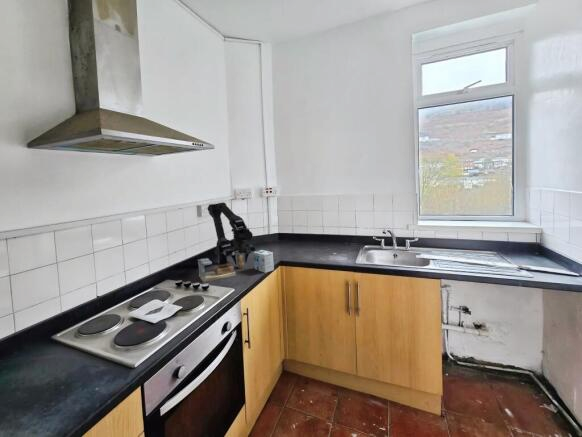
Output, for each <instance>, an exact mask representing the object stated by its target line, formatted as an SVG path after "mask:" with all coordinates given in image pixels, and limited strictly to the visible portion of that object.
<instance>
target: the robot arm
mask: <svg viewBox="0 0 582 437" xmlns="http://www.w3.org/2000/svg"><path fill="white" fill-rule="evenodd" d="M207 211H208V214H209V216H210V217H211V218H212V219H213V224H214V228H215V233H216V237H217V241H216V243H215V244H216V247H215V250H214V255H215V256H218V257H217V258H218V261H217V263H218V265H224V264H230V261H229V260H228V259H229V258H228V256H230V257H231V258H232V260H233V263H234V264H235V266H238V262H237V258H236V253H239V255H240V254H243V259H244V264H246V263H247V262H248V258H249V255H250V254H251V253H252V252H256V251H257V249H256V246H255V245H253V244H250V243H245V241H246V242H249V241H251V240H252V239H253V236H254V235H253V232H252V231H251V230H250V228H248V226H247V225H246V222H245V221H244V219H243V218H242V217H241V216H239V215H237V214H235V213H234V212H233V211H232V209H230V208H229V207H228V205H227V204H226V202H218V203H210V204H208V206H207ZM222 214H223V215H224V217H226V219H227V220H228V221H229V225H230V227H231V228H232V229H231V230H230V231H231V232H232V233H233V234H232V235H233V245H234V249H231V246H232V245H231V242H230V239H227V237H226V234H225V230H224V229H225V228H224V226H223V221H222V217H221V216H222Z"/></svg>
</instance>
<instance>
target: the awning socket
mask: <svg viewBox="0 0 582 437" xmlns="http://www.w3.org/2000/svg"><path fill="white" fill-rule="evenodd" d="M197 264H198V276H199V278H200V280H201V281H202V283H207V282H212V281H216V280H221V279H225V278H230V277H235V276H237V272H236V271H235V267H234V266H233V265H232V264H231V263H225V264H218V265H215V266H213V270H212V271H205V270H206V269H205V266H209V265H212V264H213V262H212V261H211V260H210V259H209V257H205V258H200V259H197Z"/></svg>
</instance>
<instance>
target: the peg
mask: <svg viewBox="0 0 582 437" xmlns="http://www.w3.org/2000/svg"><path fill="white" fill-rule="evenodd" d="M236 260H237V268H238V269H239V270H241V269H242V270H243V269H245V258H244V253H242V254H240V253H239V254H237V258H236Z"/></svg>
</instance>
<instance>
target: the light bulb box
mask: <svg viewBox="0 0 582 437" xmlns="http://www.w3.org/2000/svg"><path fill="white" fill-rule="evenodd" d="M252 252H253V265H254V270H256V271H259V272H262V273H265V274H266V273H269V272H272V271H274V270H275V266H274V252H273V251H269V250H264V249H260V250H256V251H252Z"/></svg>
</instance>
